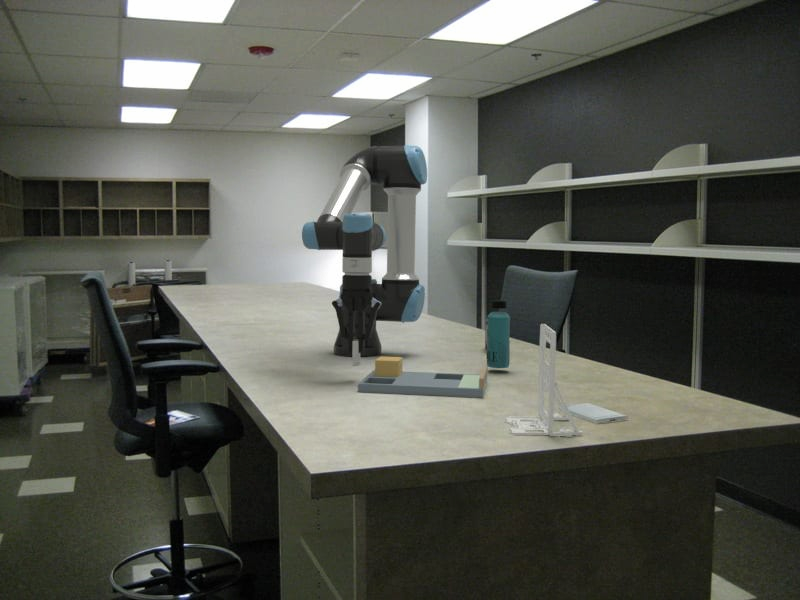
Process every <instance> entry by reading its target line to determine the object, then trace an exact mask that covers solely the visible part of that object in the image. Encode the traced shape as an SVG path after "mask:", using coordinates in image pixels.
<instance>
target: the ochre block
mask: <svg viewBox="0 0 800 600" xmlns="http://www.w3.org/2000/svg"><path fill="white" fill-rule="evenodd" d="M374 370H375V376H391V377H399V376H400V374H401V373H402V371H403V356H402V357H401V356H382V355H381V356H379V357H377V358H376V359H375V360H374Z"/></svg>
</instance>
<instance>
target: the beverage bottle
mask: <svg viewBox="0 0 800 600" xmlns="http://www.w3.org/2000/svg"><path fill="white" fill-rule="evenodd" d="M491 309H507V301H506V300H504V299H503V300H502V299H495V300H494V299H493V300H491ZM487 319H488V329H487V352H486V365H488V368H490V369H491V368H492V369H508V368H509V366H510V354H511V353H510V343H511V341H510V329H511V327H510V323H511V321H510V320H511V316H510V315H509V314H508V313H507V312H505V311H491V312H490V313H489V314H488V315H487Z"/></svg>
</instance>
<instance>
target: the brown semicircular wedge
mask: <svg viewBox="0 0 800 600" xmlns="http://www.w3.org/2000/svg"><path fill="white" fill-rule="evenodd" d="M484 320H485V321H484V322H485V323H484V326H485V327H484V331H485V332H484V333H485V334H484V335H485V336H484V338H485V339H484V350H485V353H487V329H488V318H485V319H484Z"/></svg>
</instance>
